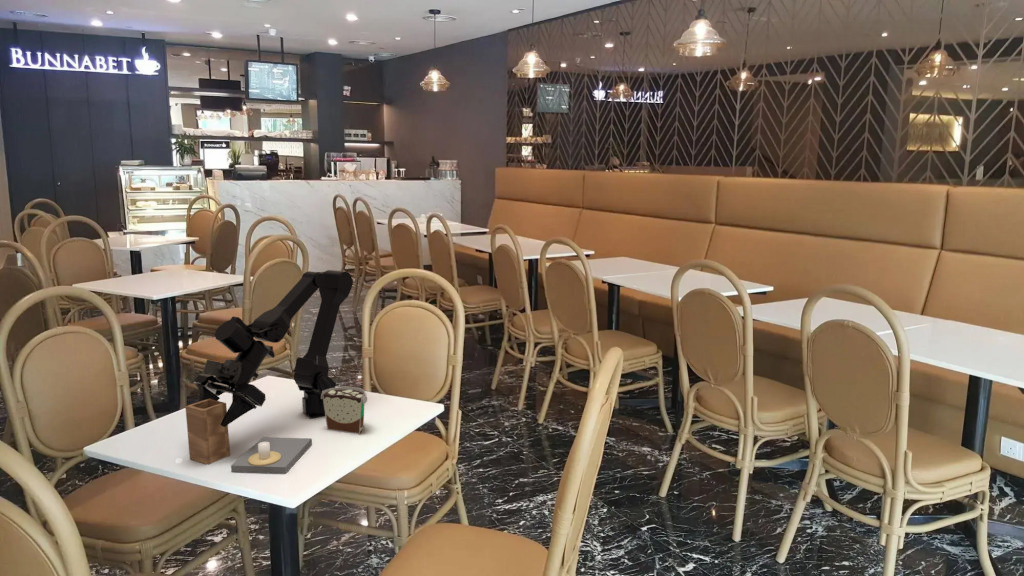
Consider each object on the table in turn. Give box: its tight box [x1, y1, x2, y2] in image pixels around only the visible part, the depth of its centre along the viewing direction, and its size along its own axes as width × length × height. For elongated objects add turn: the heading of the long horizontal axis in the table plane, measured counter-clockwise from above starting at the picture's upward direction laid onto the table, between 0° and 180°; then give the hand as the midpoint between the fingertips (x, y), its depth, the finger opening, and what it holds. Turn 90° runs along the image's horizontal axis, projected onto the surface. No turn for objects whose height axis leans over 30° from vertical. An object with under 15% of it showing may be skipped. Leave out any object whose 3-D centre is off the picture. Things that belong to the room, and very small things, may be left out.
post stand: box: [230, 436, 313, 475], centre depth 156 cm, size 16×12×5 cm
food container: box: [321, 386, 368, 435], centre depth 174 cm, size 12×6×10 cm, turn 71°
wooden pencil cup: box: [185, 399, 231, 465], centre depth 156 cm, size 6×6×12 cm
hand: (209, 422), depth 156 cm, fingers open, 9 cm apart
